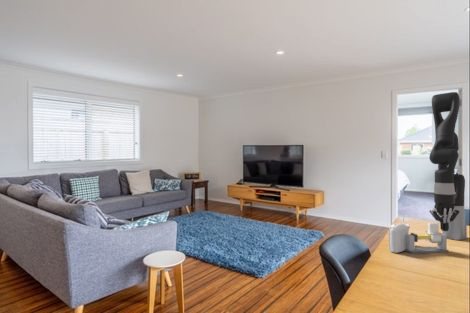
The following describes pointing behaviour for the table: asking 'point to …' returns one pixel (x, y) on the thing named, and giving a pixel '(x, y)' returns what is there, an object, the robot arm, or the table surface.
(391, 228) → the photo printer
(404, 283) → the table surface
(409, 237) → the slider rail
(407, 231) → the smoothie
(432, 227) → the white stepped block
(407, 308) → the table surface
